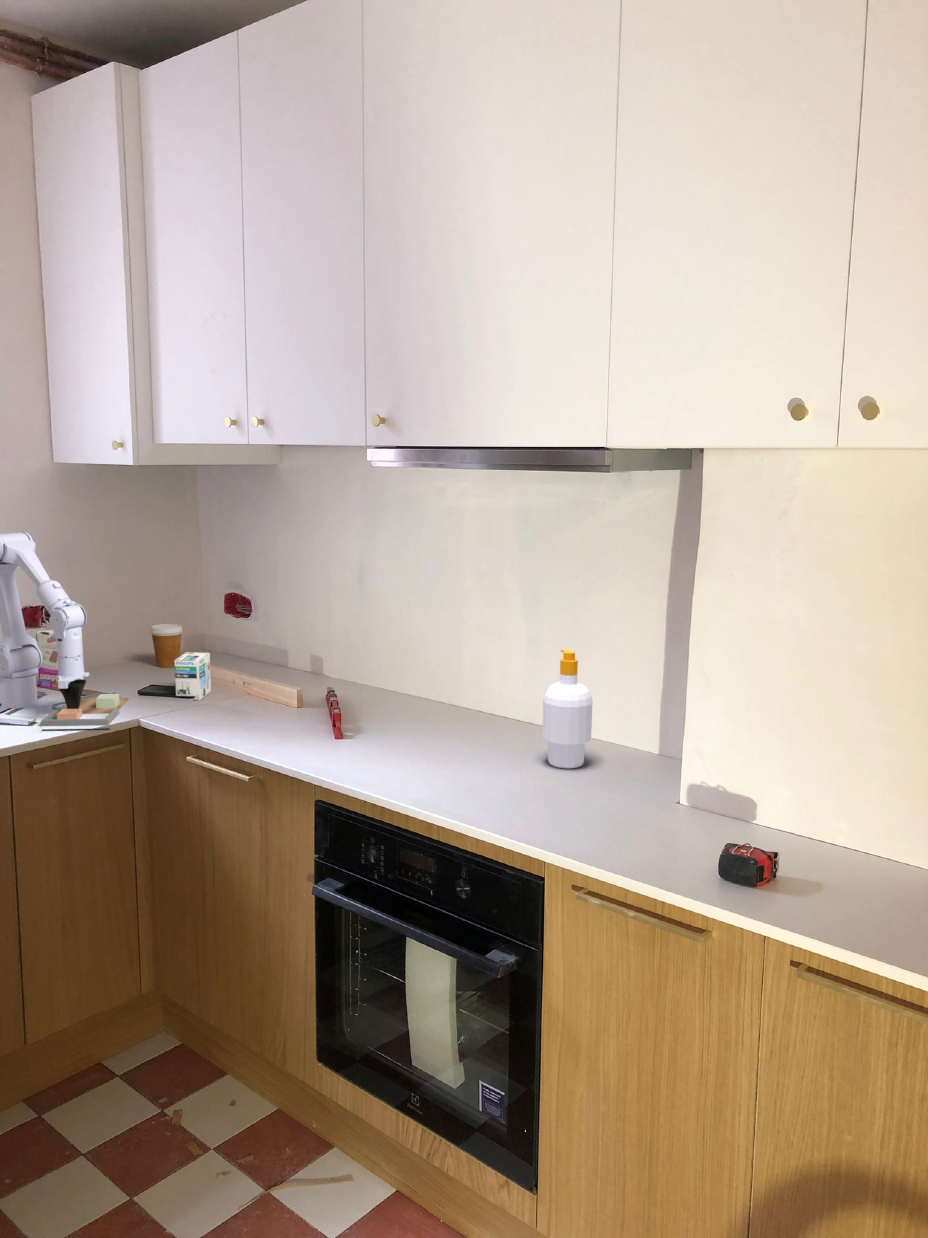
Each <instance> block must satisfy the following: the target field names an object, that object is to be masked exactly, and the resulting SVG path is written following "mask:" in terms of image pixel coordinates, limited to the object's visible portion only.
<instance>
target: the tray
mask: <svg viewBox="0 0 928 1238" xmlns="http://www.w3.org/2000/svg"><path fill="white" fill-rule="evenodd" d="M60 709H61V708H54V709H53V710H52V711H51V712H50V713H49V714H48V715H46V716H45V717H44V718H43V719H42V720H41V721H40V724H41V727H82V726H83V727H85V726H88V727H89V726H91V727H93V726H94V727H95V726H110V724H111V723H113V721H114V720H115V719H116V718H117V717H118V716H119V715H120V709H119V708H115V709H114V710H113V711H112V712H111V713H108V715H106V717H105V718H80V719H57V713H59V712H60V711H61V710H60ZM109 730H111V728H110V727H109V728H108V727H105V728H104V727H102V728H101V727H100V728H57V729H56V728H52V729H50V728H46V729H41V732H68V731H69V732H73V731H74V732H75V731H79V732H81V731H109Z"/></svg>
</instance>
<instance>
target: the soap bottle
mask: <svg viewBox="0 0 928 1238" xmlns="http://www.w3.org/2000/svg"><path fill="white" fill-rule="evenodd" d="M560 652H561V653H563V656H562V658H560V663H559V667H560V668H559V681H556V682H555V683H553V684H551V685H549V687H548V688H547V690H546V692H545V694H544V697H543V701H542V738H543V740H544V741H546V742H548V745H547V746H548V747H547V748H548V751H547V752H548V753H547V760H548V761H547V762H548V763H549V764H550V765H551V766H553V767H555V768H558V769H559V768H560V769H566V770H567V769H576V768H580V767H582V766H583V765H584V763H585V744H587V743H588V742H590V741H591V739H592V728H593V727H592V724H593V698H592V695H591V692H590V689H589V688H588V687H587V686H585V685H584V684H582V683H580V682H579V681H578V667H579V665H578V663H579V661H578V660H579V659H577V658H576V651H572V650H568V649H563V648H561V649H560Z"/></svg>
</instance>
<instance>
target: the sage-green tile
mask: <svg viewBox="0 0 928 1238" xmlns="http://www.w3.org/2000/svg"><path fill="white" fill-rule="evenodd" d="M119 698H120V694H119V693H100V694H99V695H98V696H97V697H96V698H95V699H96V708H116V707H117V706H118V704H119Z"/></svg>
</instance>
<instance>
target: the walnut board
mask: <svg viewBox="0 0 928 1238" xmlns="http://www.w3.org/2000/svg"><path fill="white" fill-rule="evenodd" d="M129 699H130V697H127V698H126V697H124V698H123V697H121V698H120V697H119V704H118V706H117V707H116V708H119V710H120V709H121V708H122V707H123V706H124V704H126V703H127V702H128V701H129ZM65 709H67V707H66V708H65ZM79 709H82V715H92V714H93V715H97V714H102V715H103V714H105V715H106V714H110V713H111V712H112V711H113V710H114V709H115V708H96V698H81V700H80V706H79Z"/></svg>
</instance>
